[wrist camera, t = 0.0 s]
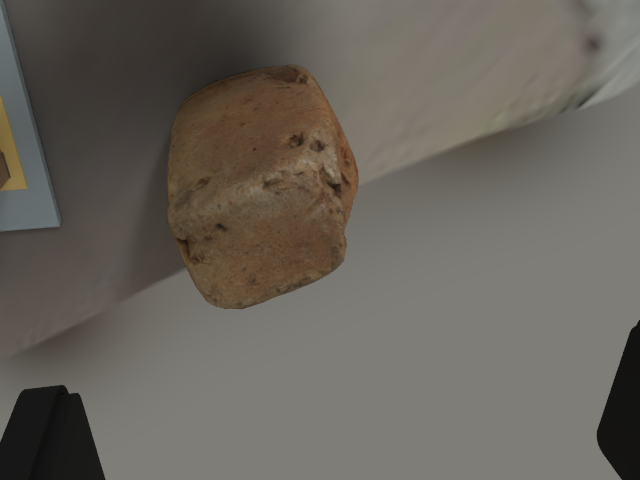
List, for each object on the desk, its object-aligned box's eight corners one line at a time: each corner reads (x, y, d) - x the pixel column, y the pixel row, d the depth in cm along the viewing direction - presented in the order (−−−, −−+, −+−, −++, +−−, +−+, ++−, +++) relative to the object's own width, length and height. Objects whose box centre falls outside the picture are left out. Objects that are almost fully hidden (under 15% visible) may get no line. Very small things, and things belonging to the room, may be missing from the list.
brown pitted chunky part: (209, 179, 46) (208, 336, 29) (167, 94, 42) (137, 216, 25) (334, 131, 46) (407, 260, 29) (303, 40, 42) (366, 127, 25)
